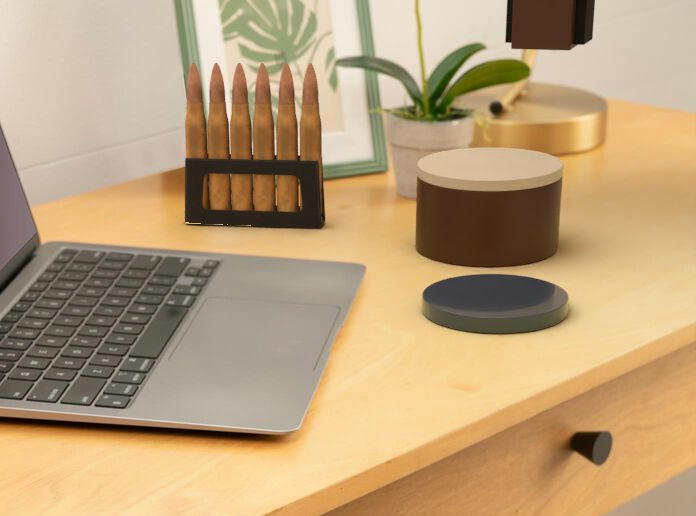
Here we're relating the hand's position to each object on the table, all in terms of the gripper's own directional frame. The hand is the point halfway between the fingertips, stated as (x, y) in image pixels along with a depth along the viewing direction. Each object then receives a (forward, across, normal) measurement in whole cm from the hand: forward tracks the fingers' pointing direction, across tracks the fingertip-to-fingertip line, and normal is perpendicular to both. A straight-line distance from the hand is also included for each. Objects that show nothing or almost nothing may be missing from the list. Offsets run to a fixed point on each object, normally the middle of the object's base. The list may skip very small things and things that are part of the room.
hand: (548, 40), depth 112 cm
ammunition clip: (+12, -19, -12) cm, 26 cm away
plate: (+12, +4, -27) cm, 30 cm away
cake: (+12, 0, -13) cm, 18 cm away
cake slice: (0, 0, 0) cm, 0 cm away
